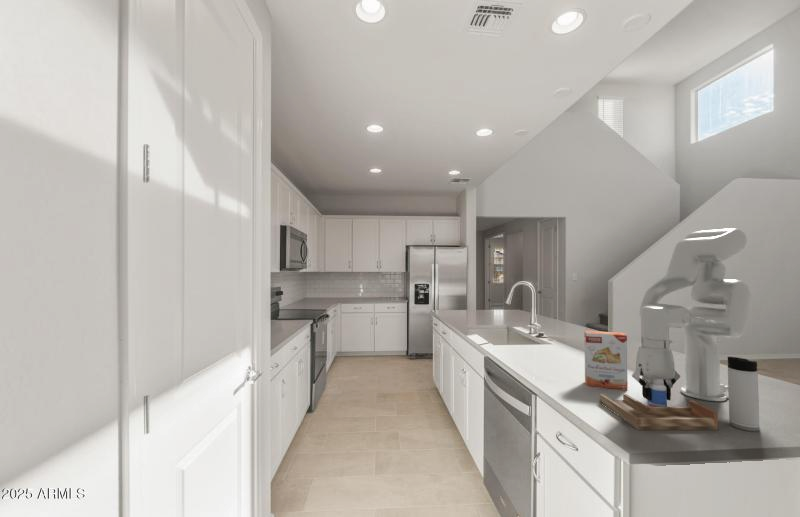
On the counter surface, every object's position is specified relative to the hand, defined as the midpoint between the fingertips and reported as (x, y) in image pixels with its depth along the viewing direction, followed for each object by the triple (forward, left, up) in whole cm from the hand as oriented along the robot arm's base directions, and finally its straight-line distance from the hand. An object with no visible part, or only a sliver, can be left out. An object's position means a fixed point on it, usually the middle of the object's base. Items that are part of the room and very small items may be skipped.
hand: (656, 398), depth 116 cm
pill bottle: (0, 0, -3) cm, 3 cm away
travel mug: (-15, +14, -3) cm, 21 cm away
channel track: (+6, +6, -3) cm, 9 cm away
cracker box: (+5, -21, -3) cm, 22 cm away
